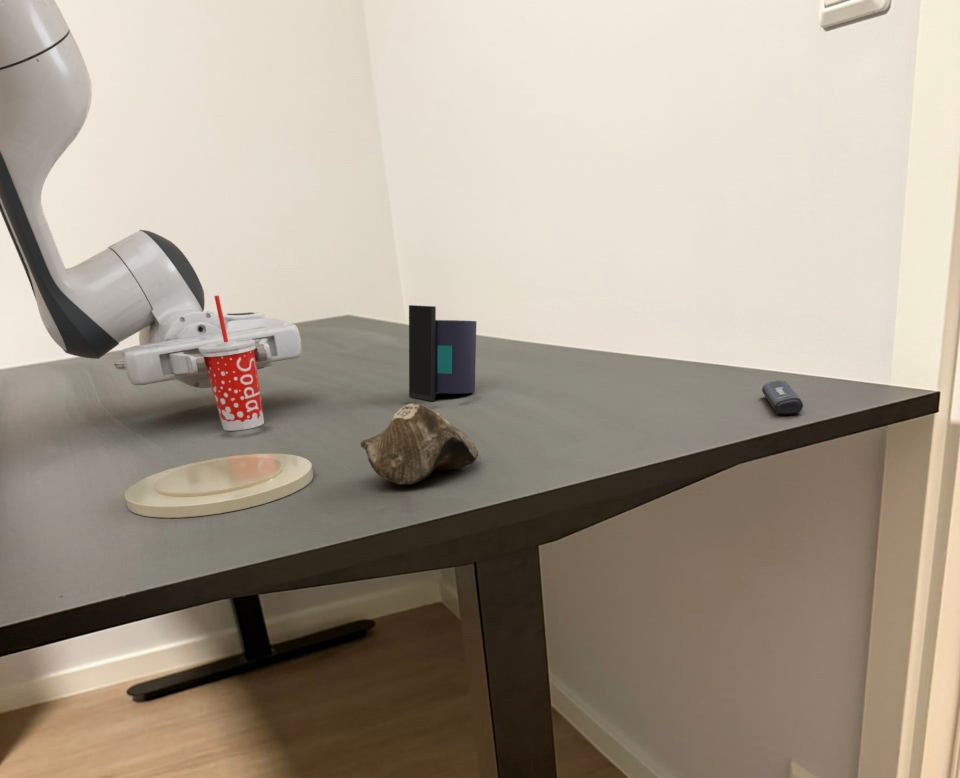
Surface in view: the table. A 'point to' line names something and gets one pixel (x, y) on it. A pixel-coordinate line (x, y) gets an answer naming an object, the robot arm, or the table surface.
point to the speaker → (440, 354)
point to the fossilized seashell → (418, 446)
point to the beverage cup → (234, 380)
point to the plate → (219, 485)
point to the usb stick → (782, 398)
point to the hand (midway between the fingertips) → (232, 358)
